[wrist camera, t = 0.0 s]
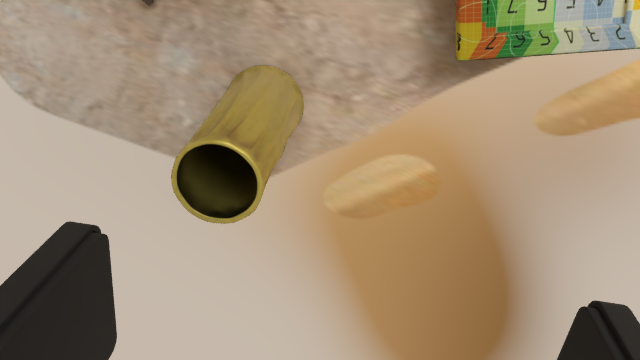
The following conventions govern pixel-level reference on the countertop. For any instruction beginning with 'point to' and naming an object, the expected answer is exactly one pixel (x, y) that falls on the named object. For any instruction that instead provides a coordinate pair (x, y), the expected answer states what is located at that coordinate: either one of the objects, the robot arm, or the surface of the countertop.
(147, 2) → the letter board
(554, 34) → the puzzle game
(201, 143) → the vase
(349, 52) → the countertop surface
